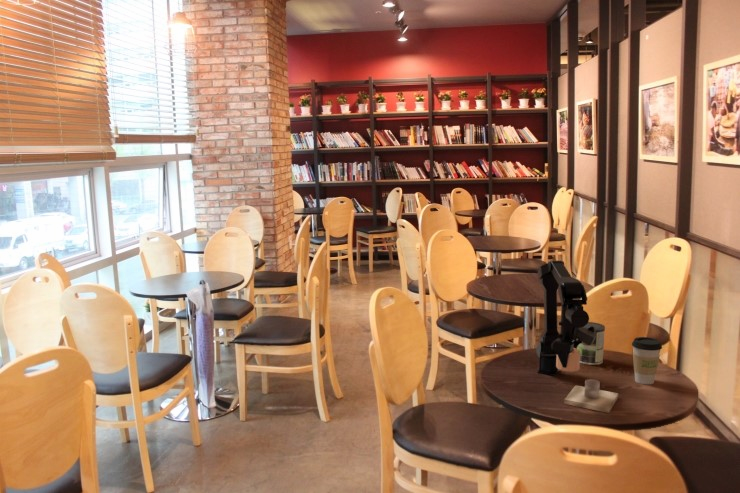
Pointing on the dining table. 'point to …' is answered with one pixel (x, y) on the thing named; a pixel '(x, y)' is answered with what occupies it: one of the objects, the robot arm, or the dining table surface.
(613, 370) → the dining table surface
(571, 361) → the collar sleeve
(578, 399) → the duct mount
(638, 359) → the coffee cup
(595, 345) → the coffee can
